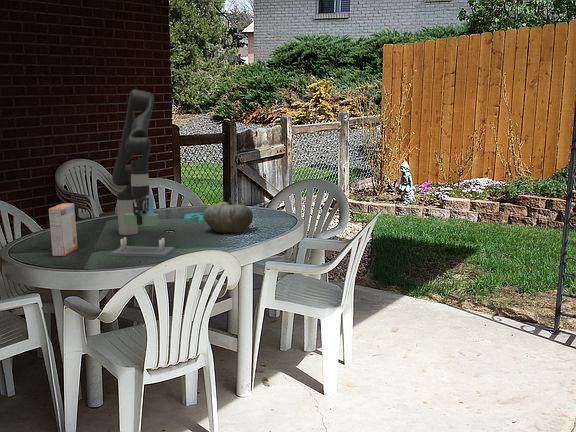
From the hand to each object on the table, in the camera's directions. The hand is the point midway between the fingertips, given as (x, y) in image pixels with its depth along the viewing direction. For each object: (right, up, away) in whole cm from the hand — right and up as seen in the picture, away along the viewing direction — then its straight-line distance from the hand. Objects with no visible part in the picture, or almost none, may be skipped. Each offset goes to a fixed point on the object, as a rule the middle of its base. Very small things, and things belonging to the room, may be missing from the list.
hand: (141, 223), depth 294 cm
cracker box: (-34, -13, +3) cm, 37 cm away
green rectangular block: (0, -1, 0) cm, 1 cm away
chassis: (0, -13, +2) cm, 13 cm away
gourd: (+33, -5, +49) cm, 60 cm away
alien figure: (+15, +1, +85) cm, 86 cm away
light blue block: (-19, +3, +94) cm, 96 cm away
